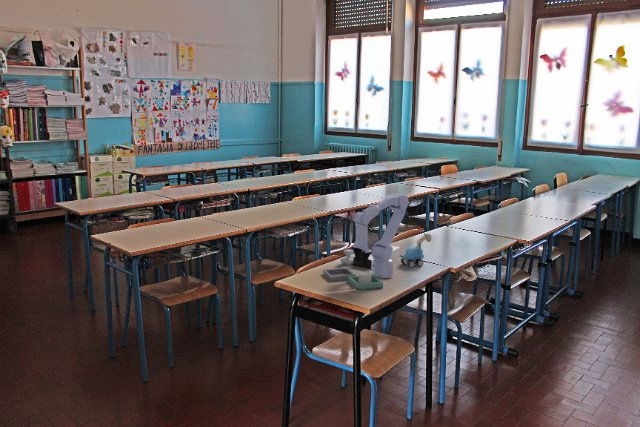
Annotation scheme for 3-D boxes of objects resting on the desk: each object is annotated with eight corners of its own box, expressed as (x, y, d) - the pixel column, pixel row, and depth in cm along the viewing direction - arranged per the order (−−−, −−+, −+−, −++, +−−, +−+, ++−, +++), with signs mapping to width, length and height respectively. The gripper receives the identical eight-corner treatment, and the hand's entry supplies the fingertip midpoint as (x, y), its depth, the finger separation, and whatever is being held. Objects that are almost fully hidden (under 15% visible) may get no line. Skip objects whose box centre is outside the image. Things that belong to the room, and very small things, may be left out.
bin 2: (372, 280, 281) (372, 274, 280) (382, 288, 268) (383, 282, 268) (348, 282, 277) (348, 276, 276) (357, 290, 264) (357, 284, 264)
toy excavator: (433, 265, 307) (435, 234, 304) (407, 268, 301) (408, 237, 298) (425, 261, 315) (426, 231, 312) (399, 264, 309) (400, 234, 306)
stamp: (358, 265, 307) (358, 250, 306) (351, 267, 302) (351, 252, 301) (345, 262, 313) (345, 247, 311) (338, 264, 308) (338, 249, 306)
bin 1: (346, 273, 292) (346, 267, 292) (355, 280, 280) (356, 274, 279) (323, 275, 288) (323, 269, 288) (331, 283, 276) (331, 277, 275)
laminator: (382, 254, 331) (383, 244, 330) (401, 257, 324) (402, 247, 323) (353, 267, 303) (353, 256, 302) (373, 271, 296) (373, 260, 295)
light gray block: (367, 282, 275) (368, 272, 274) (371, 284, 271) (371, 274, 270) (358, 283, 273) (358, 273, 272) (361, 285, 270) (361, 275, 269)
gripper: (348, 234, 280) (348, 260, 282) (359, 240, 266) (359, 268, 269) (361, 232, 282) (361, 258, 285) (373, 239, 269) (373, 266, 271)
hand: (361, 263), depth 277 cm, fingers open, 7 cm apart
